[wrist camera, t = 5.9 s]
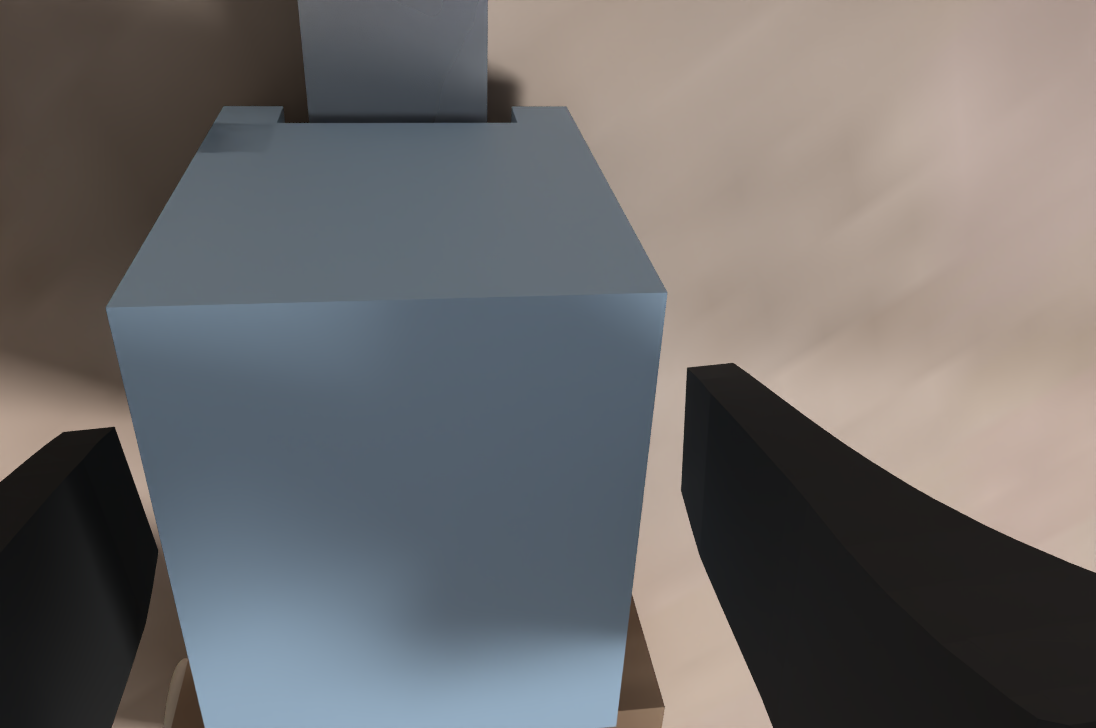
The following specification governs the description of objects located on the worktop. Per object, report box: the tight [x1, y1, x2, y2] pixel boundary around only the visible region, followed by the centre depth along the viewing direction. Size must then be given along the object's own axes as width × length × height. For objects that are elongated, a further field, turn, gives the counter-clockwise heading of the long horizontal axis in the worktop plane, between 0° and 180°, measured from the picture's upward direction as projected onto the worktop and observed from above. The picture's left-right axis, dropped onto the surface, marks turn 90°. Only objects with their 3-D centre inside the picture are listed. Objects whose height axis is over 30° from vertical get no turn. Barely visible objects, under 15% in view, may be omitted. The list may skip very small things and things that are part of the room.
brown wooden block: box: [164, 596, 665, 728], centre depth 18 cm, size 8×5×4 cm, turn 88°
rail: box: [298, 0, 488, 123], centre depth 12 cm, size 4×20×3 cm, turn 178°
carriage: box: [106, 106, 667, 728], centre depth 12 cm, size 5×6×6 cm
